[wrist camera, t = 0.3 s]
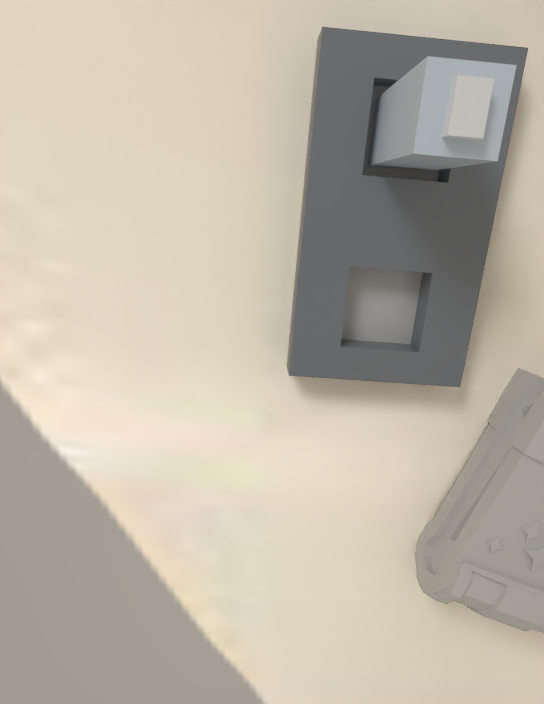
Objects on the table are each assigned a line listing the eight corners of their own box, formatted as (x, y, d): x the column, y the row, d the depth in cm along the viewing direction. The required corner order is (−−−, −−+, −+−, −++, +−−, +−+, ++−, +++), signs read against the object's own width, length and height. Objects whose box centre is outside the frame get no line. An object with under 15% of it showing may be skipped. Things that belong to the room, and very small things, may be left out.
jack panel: (317, 39, 31) (322, 26, 29) (507, 58, 32) (528, 48, 30) (286, 364, 37) (288, 375, 35) (447, 374, 38) (460, 387, 36)
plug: (376, 98, 32) (433, 51, 22) (439, 104, 32) (525, 60, 22) (368, 165, 33) (418, 152, 23) (428, 171, 33) (505, 159, 23)
